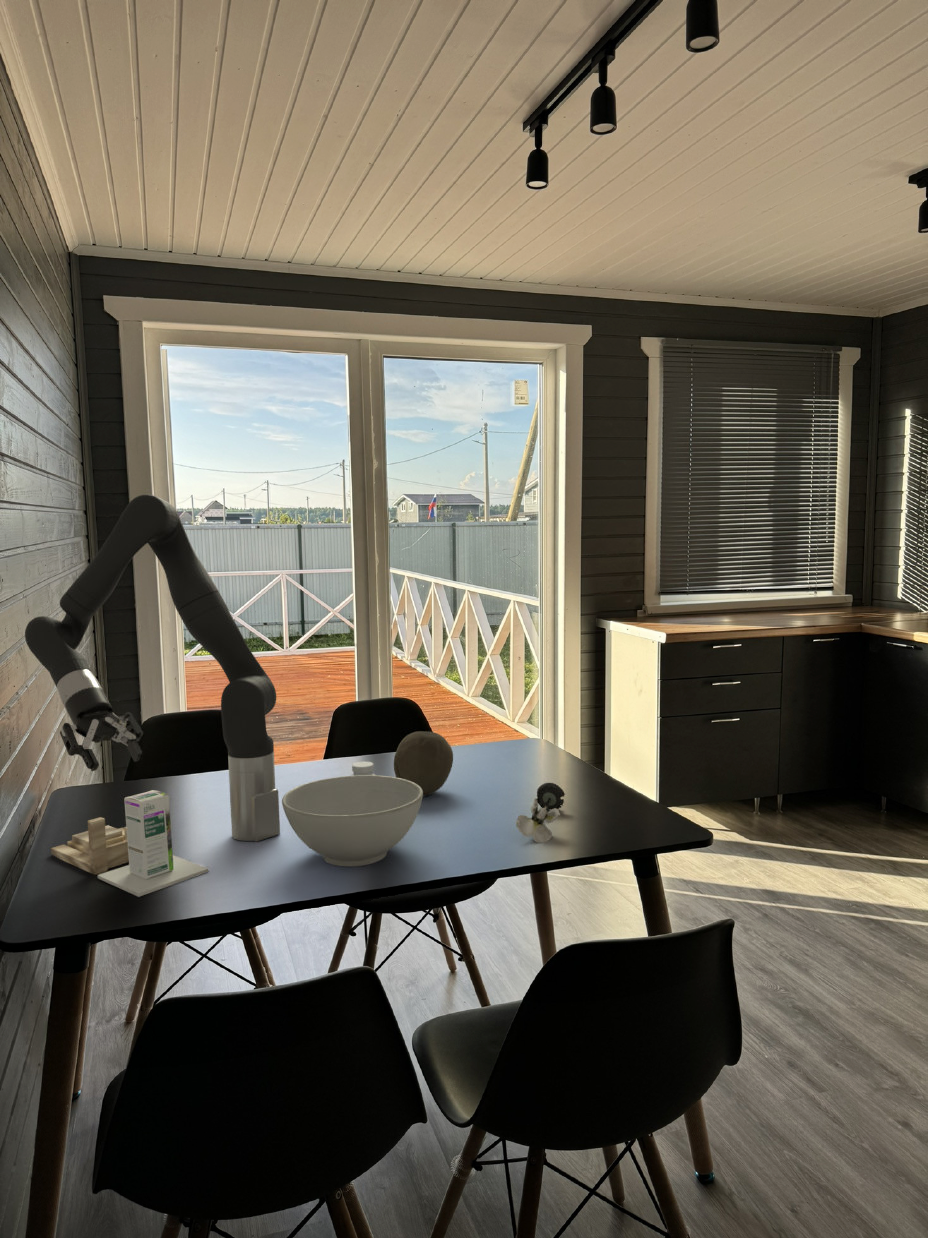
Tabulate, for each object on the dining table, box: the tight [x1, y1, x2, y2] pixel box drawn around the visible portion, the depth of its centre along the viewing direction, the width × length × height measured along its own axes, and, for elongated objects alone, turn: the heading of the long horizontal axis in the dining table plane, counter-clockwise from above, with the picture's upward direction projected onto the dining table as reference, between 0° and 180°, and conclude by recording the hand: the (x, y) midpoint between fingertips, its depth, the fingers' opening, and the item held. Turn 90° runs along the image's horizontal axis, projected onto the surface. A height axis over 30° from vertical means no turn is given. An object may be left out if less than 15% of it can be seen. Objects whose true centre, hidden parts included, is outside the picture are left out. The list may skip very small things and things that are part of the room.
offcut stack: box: [66, 824, 125, 852], centre depth 171 cm, size 7×9×3 cm
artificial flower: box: [515, 782, 566, 844], centre depth 179 cm, size 9×22×10 cm, turn 159°
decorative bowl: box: [281, 774, 424, 868], centre depth 164 cm, size 27×27×12 cm
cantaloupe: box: [393, 730, 454, 797], centre depth 203 cm, size 14×14×15 cm
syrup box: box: [124, 789, 174, 880], centre depth 156 cm, size 6×6×14 cm
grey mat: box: [97, 854, 210, 898], centre depth 156 cm, size 14×14×1 cm
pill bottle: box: [350, 761, 376, 776], centre depth 188 cm, size 6×6×12 cm
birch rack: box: [50, 816, 129, 876], centre depth 168 cm, size 17×15×10 cm
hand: (117, 763), depth 161 cm, fingers open, 8 cm apart
